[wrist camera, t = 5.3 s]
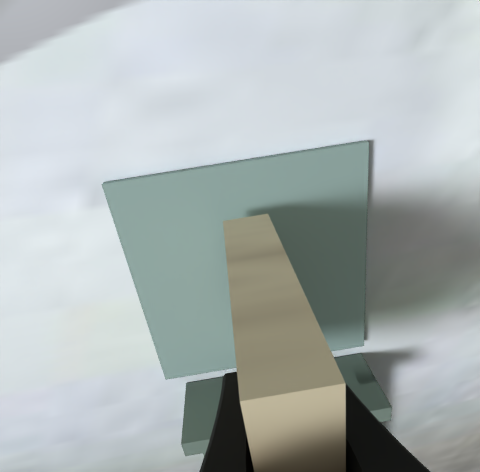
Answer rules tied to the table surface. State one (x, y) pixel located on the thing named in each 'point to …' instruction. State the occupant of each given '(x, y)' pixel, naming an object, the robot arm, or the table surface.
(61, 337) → the table surface
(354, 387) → the rack
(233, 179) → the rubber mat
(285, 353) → the plywood sheet
